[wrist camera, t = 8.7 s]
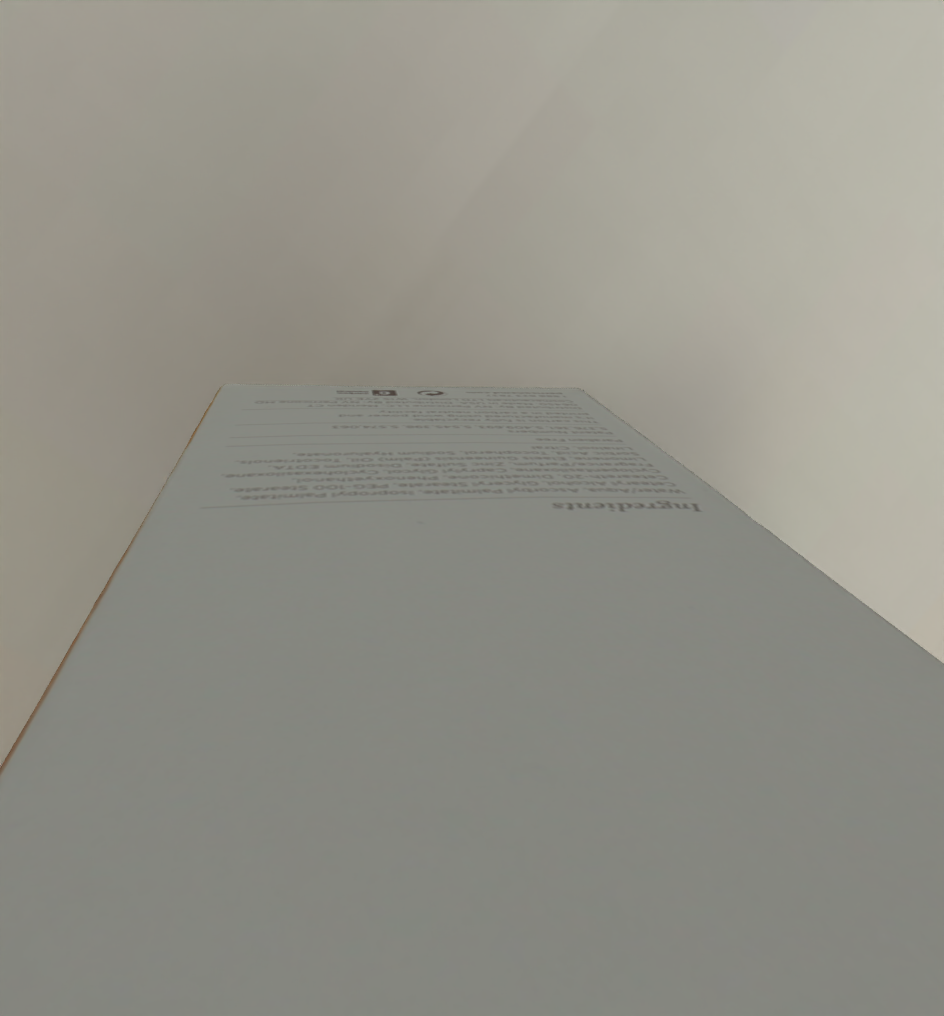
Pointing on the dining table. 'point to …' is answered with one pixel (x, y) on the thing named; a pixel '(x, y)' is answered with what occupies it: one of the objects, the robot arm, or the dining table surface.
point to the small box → (469, 739)
